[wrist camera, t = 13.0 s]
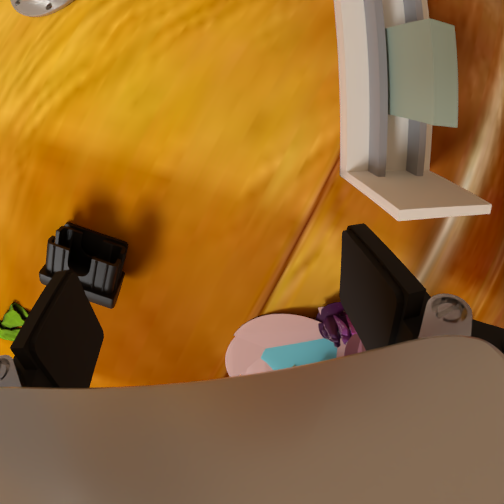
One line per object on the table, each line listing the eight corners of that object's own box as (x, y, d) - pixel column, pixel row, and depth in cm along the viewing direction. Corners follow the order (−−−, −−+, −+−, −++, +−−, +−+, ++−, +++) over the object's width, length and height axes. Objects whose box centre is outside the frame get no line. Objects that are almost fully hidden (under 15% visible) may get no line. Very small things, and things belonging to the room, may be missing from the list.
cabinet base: (330, -30, 24) (386, -75, 12) (416, -11, 25) (489, -31, 13) (339, 175, 37) (397, 221, 25) (420, 173, 38) (489, 213, 25)
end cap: (57, 265, 38) (37, 293, 32) (63, 219, 35) (40, 243, 29) (121, 287, 41) (110, 319, 35) (132, 243, 38) (119, 271, 32)
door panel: (377, 30, 27) (429, 18, 18) (400, 34, 27) (454, 25, 18) (381, 112, 32) (433, 125, 23) (403, 114, 32) (457, 127, 23)
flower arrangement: (255, 246, 46) (234, 388, 19) (400, 285, 47) (489, 413, 20) (209, 408, 58) (182, 533, 31) (321, 428, 58) (333, 547, 32)
